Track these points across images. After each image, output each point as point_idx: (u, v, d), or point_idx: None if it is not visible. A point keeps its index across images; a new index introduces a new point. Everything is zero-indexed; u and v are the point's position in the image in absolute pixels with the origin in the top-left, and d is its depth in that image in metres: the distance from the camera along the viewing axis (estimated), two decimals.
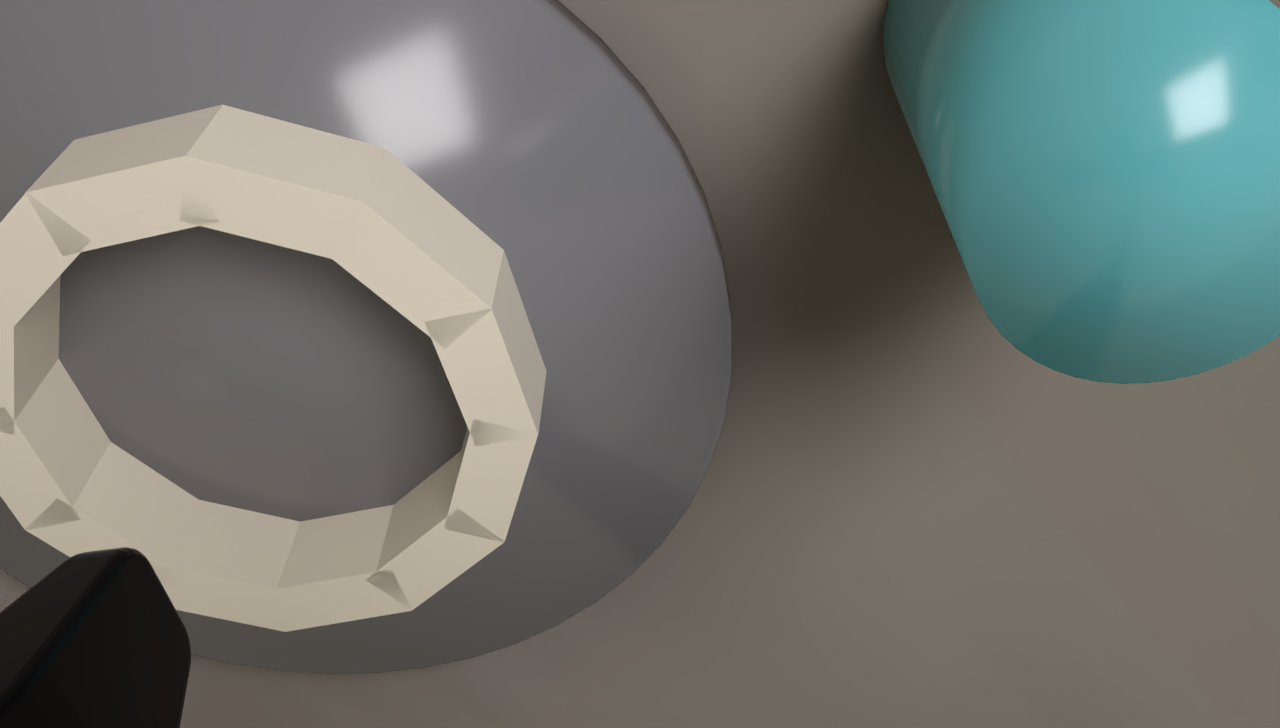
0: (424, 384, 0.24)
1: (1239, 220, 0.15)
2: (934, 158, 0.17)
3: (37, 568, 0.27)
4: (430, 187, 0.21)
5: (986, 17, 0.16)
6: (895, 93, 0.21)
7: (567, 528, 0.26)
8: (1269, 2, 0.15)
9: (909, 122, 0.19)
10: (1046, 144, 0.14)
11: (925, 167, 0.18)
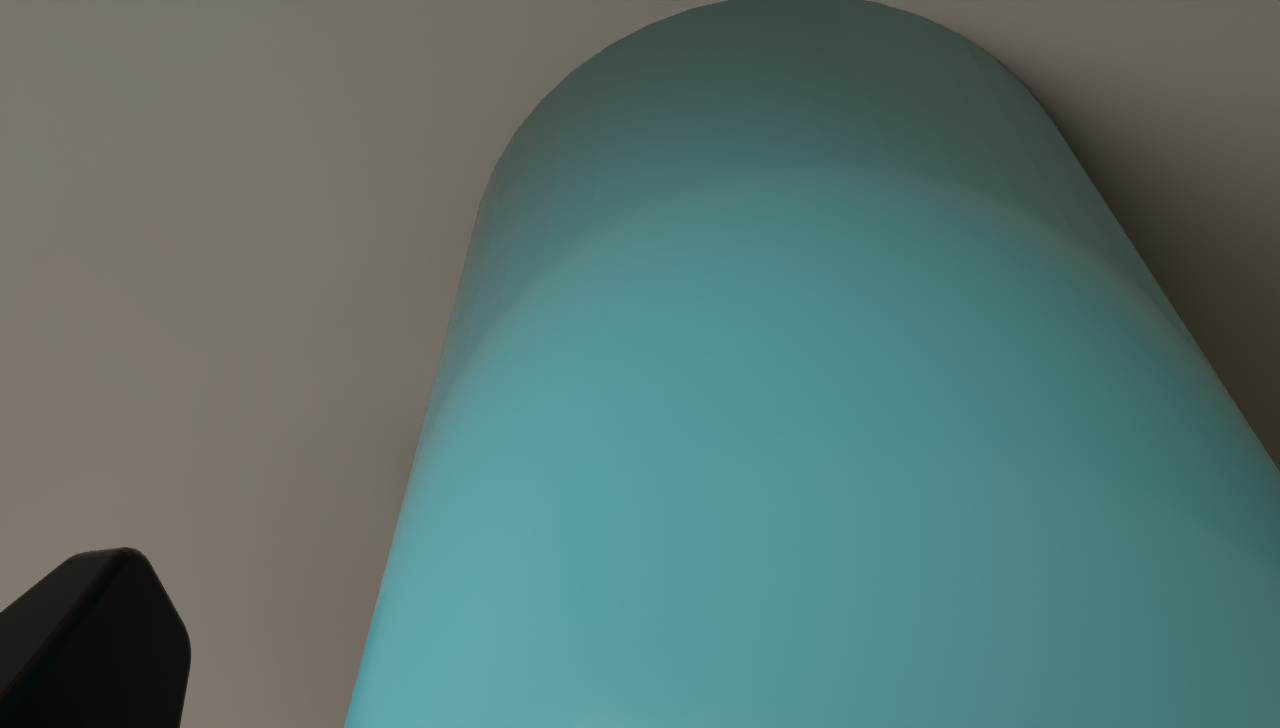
0: None
1: None
2: None
3: None
4: None
5: None
6: None
7: None
8: (370, 723, 0.05)
9: None
10: None
11: None
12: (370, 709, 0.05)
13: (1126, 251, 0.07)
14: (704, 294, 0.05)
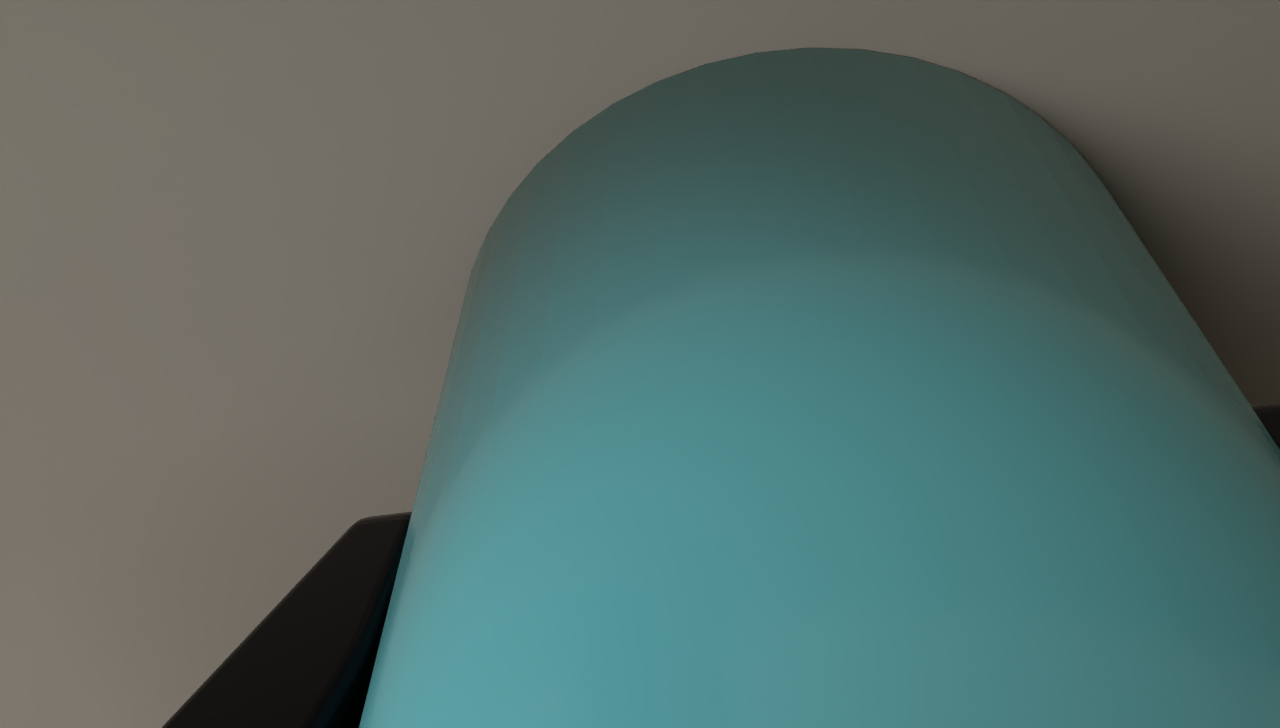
0: None
1: None
2: None
3: None
4: None
5: None
6: None
7: None
8: None
9: None
10: None
11: None
12: None
13: (1208, 359, 0.06)
14: (730, 443, 0.05)
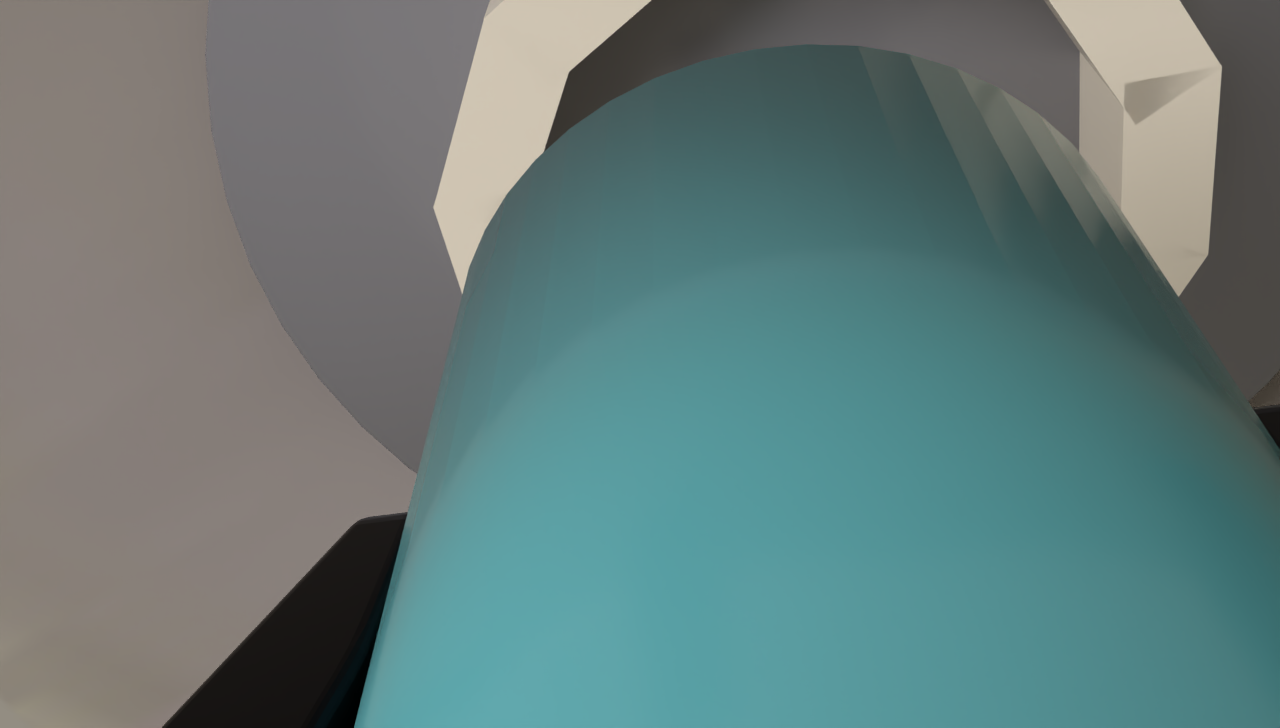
0: None
1: None
2: None
3: None
4: None
5: None
6: None
7: None
8: None
9: None
10: None
11: None
12: None
13: (1206, 354, 0.06)
14: (727, 441, 0.05)
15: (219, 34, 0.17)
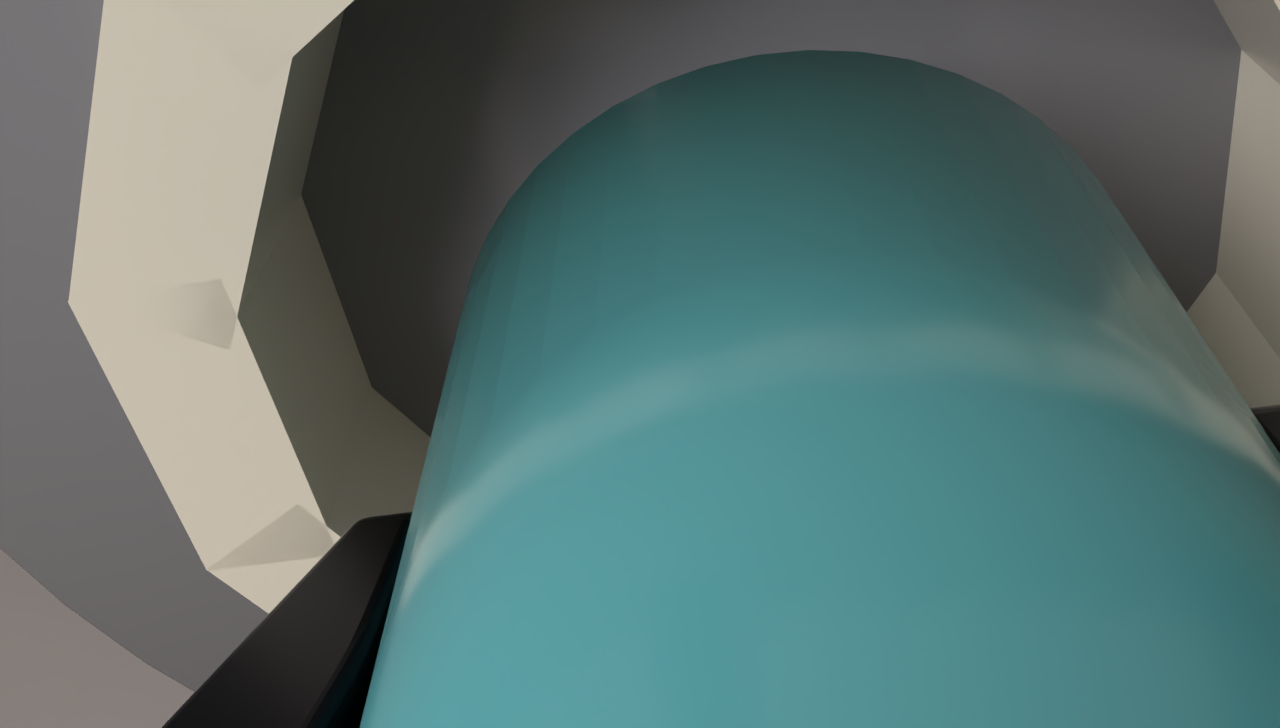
0: None
1: None
2: None
3: None
4: None
5: None
6: None
7: None
8: None
9: None
10: None
11: None
12: None
13: (1208, 361, 0.06)
14: (730, 449, 0.05)
15: None
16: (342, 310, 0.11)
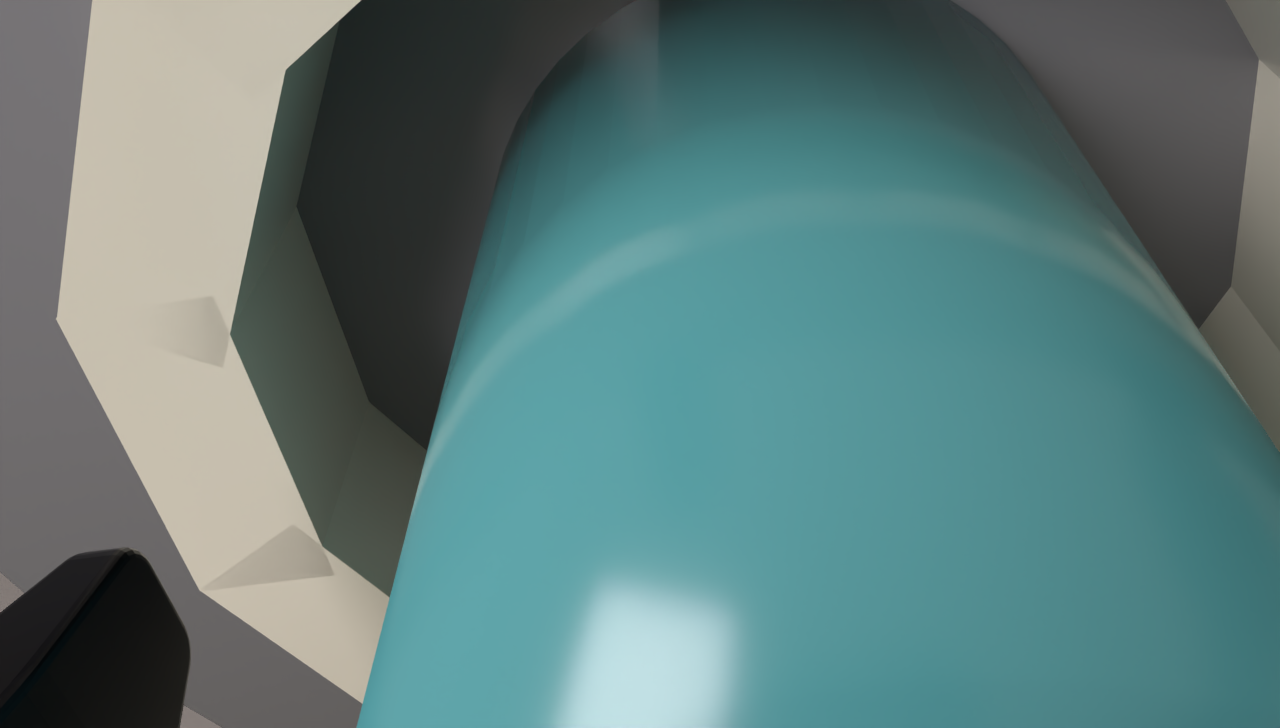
0: None
1: None
2: None
3: None
4: None
5: None
6: None
7: None
8: (421, 564, 0.06)
9: None
10: None
11: None
12: (420, 555, 0.06)
13: (1092, 182, 0.08)
14: (710, 206, 0.06)
15: None
16: (338, 324, 0.11)
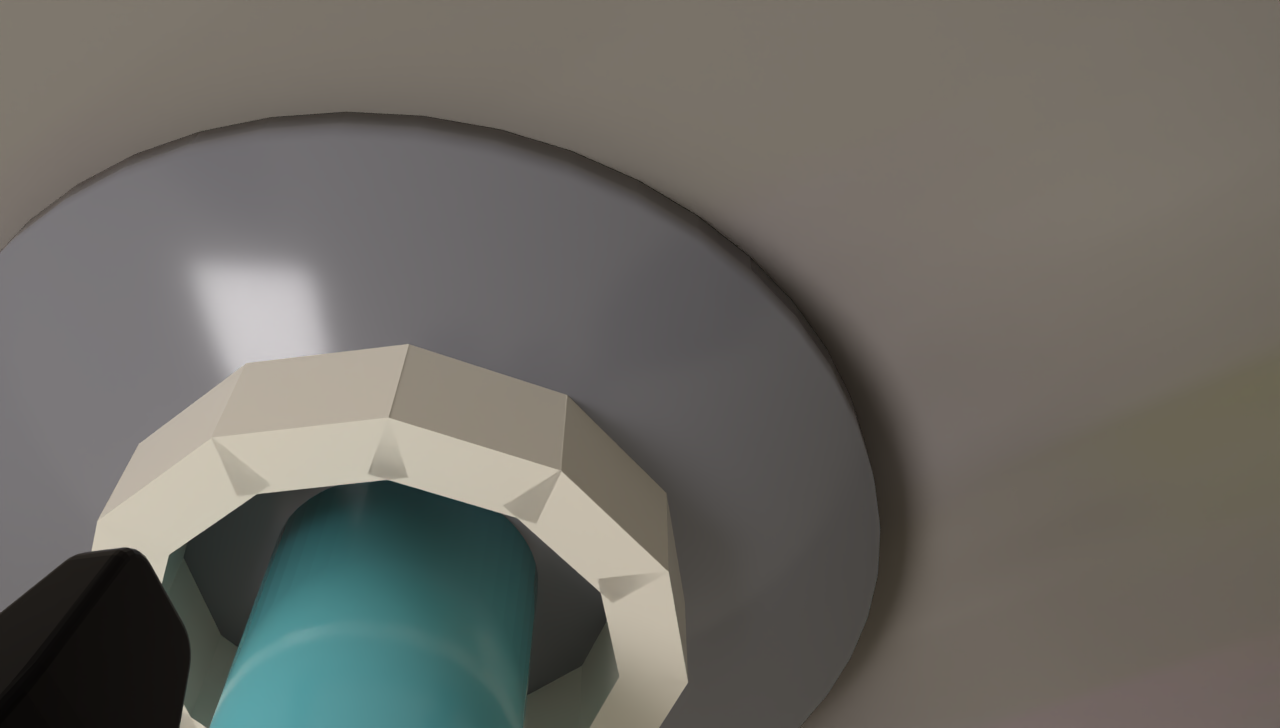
0: None
1: None
2: None
3: None
4: (176, 415, 0.21)
5: None
6: None
7: (660, 351, 0.20)
8: None
9: None
10: None
11: None
12: None
13: (472, 606, 0.20)
14: (302, 643, 0.19)
15: None
16: (205, 603, 0.24)
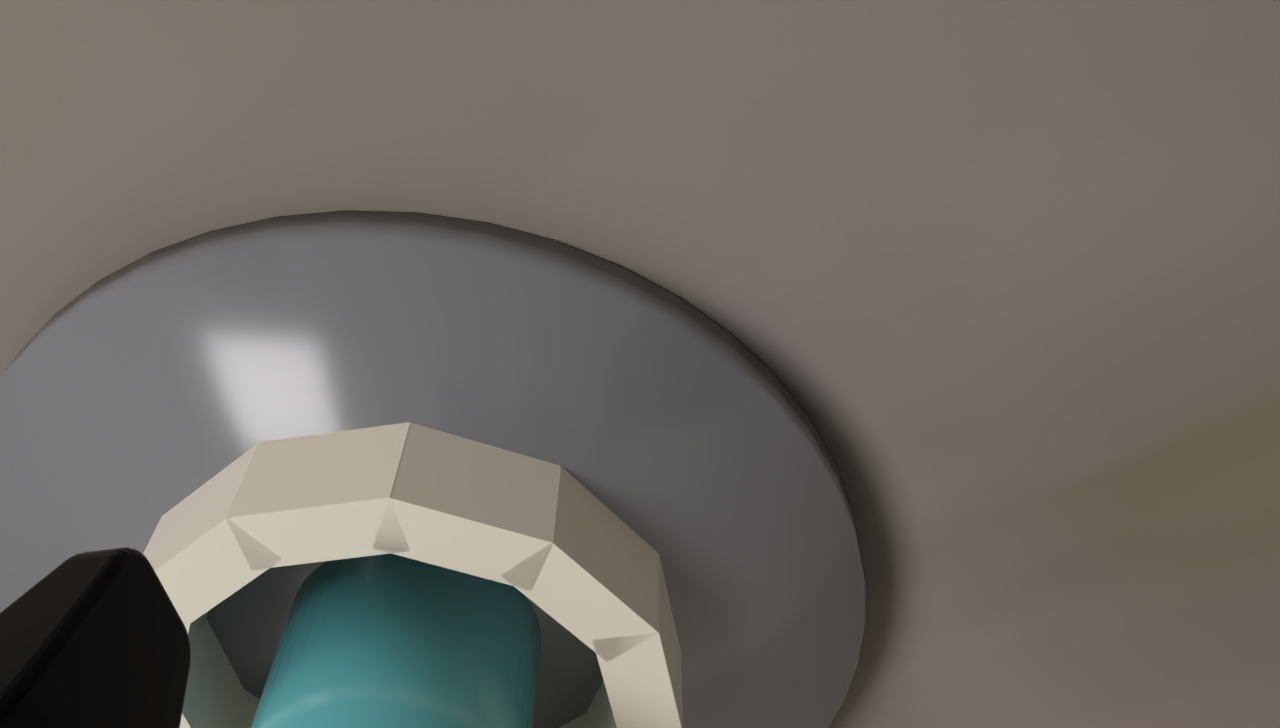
0: None
1: None
2: None
3: None
4: (196, 490, 0.22)
5: None
6: None
7: (646, 424, 0.21)
8: None
9: None
10: None
11: None
12: None
13: (473, 668, 0.21)
14: (314, 710, 0.20)
15: None
16: (227, 660, 0.25)
